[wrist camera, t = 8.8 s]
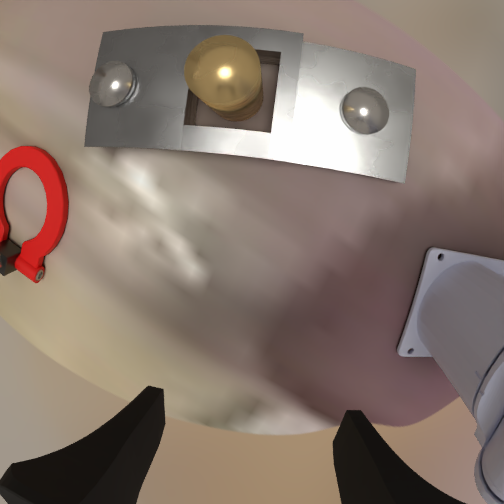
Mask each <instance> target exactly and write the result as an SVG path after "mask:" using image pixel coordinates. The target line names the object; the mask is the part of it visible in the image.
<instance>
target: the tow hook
mask: <svg viewBox="0 0 504 504" xmlns="http://www.w3.org/2000/svg"><path fill="white" fill-rule="evenodd" d="M22 167H27V168H29V169H31V170H33V171H34V172H35V173H36V174H37V175H38V176H39V178H40V179H41V181H42V183H43V185H44V189H45V192H46V198H47V215H46V219H45V223H44V225H43V227H42V229H41V231H40V233H39V234H38V235H37V236H36V237H35V238H33V239H31V240H27V241H25V242H24V243H23V244H22V249H20V248H19V247H18V246H16V245H15V244H14V243H12V242H11V241H10V240H7V236H8V231H9V226H8V223H7V221H6V218H5V215H4V209H3V195H4V190H5V186H6V184H7V182H8V179H9V178H10V177H11V175H12V174H13V173H14V172H15V171H16V170H18V169H19V168H22ZM67 215H68V195H67V186H66V183H65V180H64V177H63V173H62V171H61V169H60V168H59V166H58V164H57V162H56V161H55V159H54V158H53V157H52V156H51V155H50V154H48V153H47V152H46V151H45V150H42V149H40V148H38V147H32V146H20V147H17V148H15V149H12V150H10V151H9V152H8V153H7V154H5V155H4V156H3V157H2V159H1V160H0V273H1V274H2V275H3V276H5V275H7V274H9V273H11V272H13V271H15V270H18V271H20V272H21V273H22V274H24V275H25V276H26V277H28V278H29V279H30V280H32V281H33V282H35V283H38V282H39V281H40V280H41V279H42V277H43V275H44V272H45V268H44V267H43V266H42V263H43V259H44V256H45V255H47V254H49V253H50V252H51V251H52V250H53V249H54V248H55V247H56V246H57V244H58V242H59V240H60V239H61V237H62V235H63V233H64V229H65V225H66V222H67Z"/></svg>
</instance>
